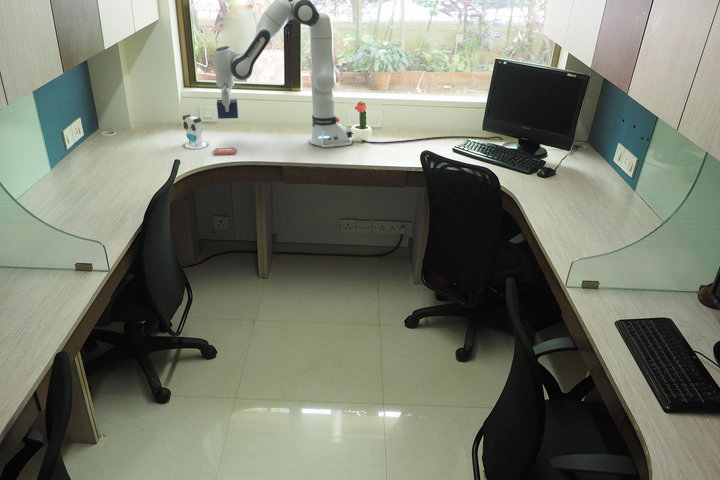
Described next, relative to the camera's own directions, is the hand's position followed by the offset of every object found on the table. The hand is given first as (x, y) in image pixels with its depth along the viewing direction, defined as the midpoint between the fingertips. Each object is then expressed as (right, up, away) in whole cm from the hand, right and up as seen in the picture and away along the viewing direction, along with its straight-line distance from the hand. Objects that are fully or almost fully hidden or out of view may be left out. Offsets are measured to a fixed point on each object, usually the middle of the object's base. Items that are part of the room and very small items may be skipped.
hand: (227, 109), depth 315 cm
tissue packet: (-2, -22, +2) cm, 22 cm away
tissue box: (0, -3, +2) cm, 4 cm away
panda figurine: (-19, -16, +11) cm, 27 cm away
